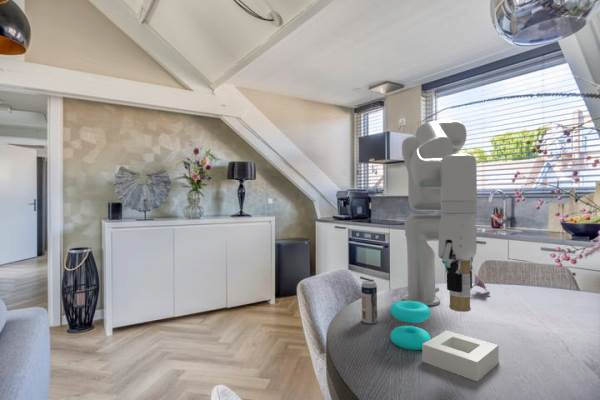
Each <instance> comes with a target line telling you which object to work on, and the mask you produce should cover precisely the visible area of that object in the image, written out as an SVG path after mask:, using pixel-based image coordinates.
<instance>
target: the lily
mask: <svg viewBox="0 0 600 400" xmlns="http://www.w3.org/2000/svg"><path fill="white" fill-rule="evenodd" d="M472 270H473V271H472V272H474V273H473V275H474V284H472V288H474V287H475V286H476V287H480V288H482V289H484V290H485V292H486V293H487V294H488V295H489V296H491V294H490V291H489V289H488V288H487V286H486V285H485V280H484V279H482V280H481V278H478V275H477V273H476V272H475V269H472ZM472 288H470V291H471V290H472Z"/></svg>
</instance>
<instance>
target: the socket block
mask: <svg viewBox="0 0 600 400" xmlns="http://www.w3.org/2000/svg"><path fill="white" fill-rule="evenodd" d="M421 351H422V355H421V358H422V362H423V363H425V364H428V365H430V366H434V367H436V368H439V369H442V370H444V371H447V372H450V373H452V374H456V375H457V376H460V375H461V376H460V377H463V376H464V378H466V379H469V380H472V381H474V382H479V381H480V380H482V378H484V377H485V376H487V374H488V373H490V371H492V369H493V368H495V367H496V366H497V365H498V364H500V358H499V357H500V356H499V352H500V351H499V344H496V343H492V342H488V341H485V340H482V339H478V338H475V337H471V336H467V335H465V334H464V335H463V334H460V333H457V332H453V331H450V330H445V331H443V332H441V333H440V334H438V335H436V336H434V337H432V338H431V339H430V340H429V341H427V342H425V343H423V344H422V349H421ZM495 365H496V366H495ZM484 375H485V376H484Z"/></svg>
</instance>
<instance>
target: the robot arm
mask: <svg viewBox="0 0 600 400" xmlns="http://www.w3.org/2000/svg"><path fill="white" fill-rule="evenodd" d="M466 141H467V129H466V126H465V124H463V122H462V121H459V120H436V121H435V120H433V121H427V122H424V123H422V124H420V125H419V126H418V128H417V129H416V132H415V135H413V136H408V137H406V138H404V140H403V141H402V144H401V153H402V159H403V161H404V165H405V166H406V169H407V170H406V171H407V175H408V176H407V177H408V178H407V180H408V181H407V182H408V184H407V185H408V189H407V191H408V197H407V199H408V205H409V207H410V209H411V210H413V211H420V212H421V211H422V212H423V211H424V212H425V211H426V212H429V211H430V212H432V211H433V212H435V211H437V212H438V211H439V212H440V214H428V213H427V214H424V213H423V214H422V213H421V214H410V215H409V216H408V217H406V219H405V220H404V224H403V225H404V231H405V239H406V247H407V248H406V251H407V252H406V253H407V256H406V257H407V261H406V262H407V293H406V294H405V295H403V301H415V302H420V303H423V304H425V305H427V306H428V307H429V306H437V305H439V304H440V303H441V298H439V296H437V295H436V293H438V292H439V291H440V288H439V287H438V286H436V255H435V251H434V249H433V248H432V247H431V246H430V245H429V244H428V242H431V241H433V242H435V241H437V242H438V244H437V245H438V247H437V249H438V251H437V252H438V257H439V258H440V259H441V263H442V264H443V265H444V267H445V274H446V290H447V291H455V292H462V274H460V269H461V260H464V259H466V256H467V254H468V253H469V252H470V256H471V259H470V289H471V288H472V286H473V271H472V270H473V261H474V258H475V256H476V255H477V249H478V248H477V246H478V245H477V241H478V239H477V225H476V219H475V217H476V216H478V189H477V188H478V186H477V185H478V184H477V183H478V181H477V180H478V178H477V176H478V175H477V172H478V171H477V169H478V168H477V159H476V157H475V155H473V154H469V153H459V151H460V150H462V148H463V147H464V145H465V143H466ZM458 153H459V154H458ZM451 256H454V257H455V258H456V259H451ZM452 262H456V266H455V264H454V263H452Z"/></svg>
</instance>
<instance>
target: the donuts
mask: <svg viewBox="0 0 600 400" xmlns="http://www.w3.org/2000/svg"><path fill="white" fill-rule="evenodd" d="M389 311H390V314H391V315H392V316H393V318H395V319H397V320H398V321H401V322H405V323H423V322H425V321H427V320H428V319H429V318H430V316H431V314H432V312H431V309H430V307H429V306H427V305H425V304H423V303H420V302H415V301H404V300H398V301H395V302H393V303H392V304H391V305H390V307H389ZM430 339H432V338H431V336H430V334H429V332H427V331H426V330H425V329H423V328H421V327H417V326H414V325H399V326H397V327H395V328H394V329H392V330H391V332H390V340H391V342H392V343H393V344H394V345H395V346H397V347H399V348H402V349H405V350H410V351H419V350H421V351H422V344H423V343H425V342H427V341H429V340H430Z"/></svg>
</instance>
